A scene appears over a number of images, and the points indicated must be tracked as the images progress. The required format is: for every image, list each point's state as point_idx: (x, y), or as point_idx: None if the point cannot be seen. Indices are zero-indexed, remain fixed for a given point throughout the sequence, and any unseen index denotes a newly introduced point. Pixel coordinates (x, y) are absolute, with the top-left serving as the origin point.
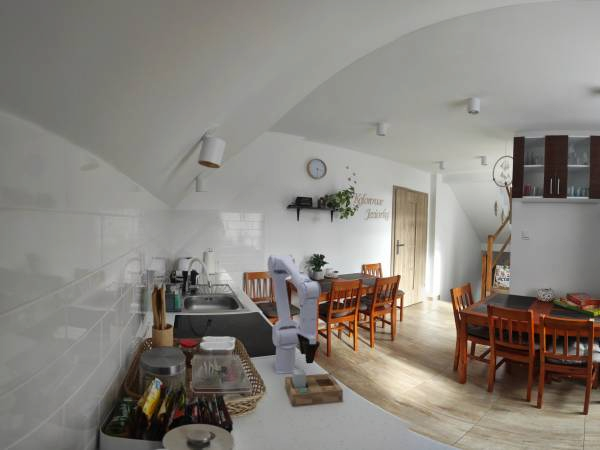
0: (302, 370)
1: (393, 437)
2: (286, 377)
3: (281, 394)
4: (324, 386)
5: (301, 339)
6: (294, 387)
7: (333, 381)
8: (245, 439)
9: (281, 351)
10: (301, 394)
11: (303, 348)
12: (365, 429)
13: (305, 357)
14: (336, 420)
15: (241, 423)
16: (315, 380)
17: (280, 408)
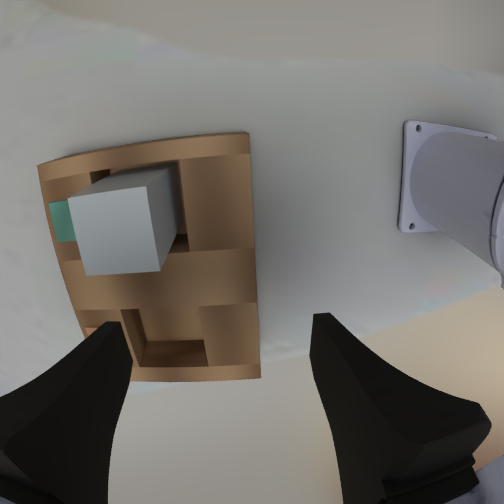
0: (138, 262)
1: (3, 382)
2: (242, 140)
3: (179, 106)
4: (123, 329)
5: (365, 425)
6: (107, 177)
7: (176, 373)
8: None
9: (494, 165)
10: (46, 208)
11: (327, 364)
12: (6, 349)
13: (98, 342)
14: (16, 297)
15: None
16: (186, 305)
17: (61, 103)
